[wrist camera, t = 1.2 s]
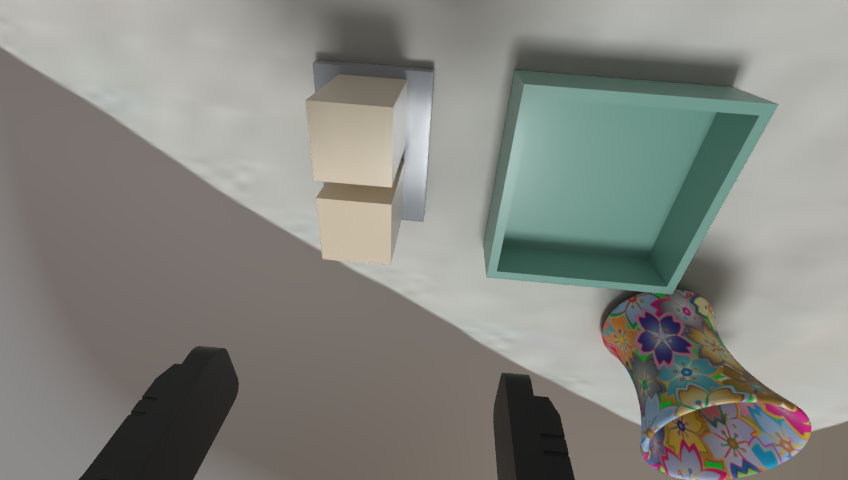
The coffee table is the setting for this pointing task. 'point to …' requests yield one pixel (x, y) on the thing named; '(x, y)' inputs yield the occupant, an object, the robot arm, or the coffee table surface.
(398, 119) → the block
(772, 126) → the coffee table surface
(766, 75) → the coffee table surface
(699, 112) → the green bin
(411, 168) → the slate board
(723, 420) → the floral patterned vase
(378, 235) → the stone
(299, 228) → the coffee table surface
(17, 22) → the coffee table surface
